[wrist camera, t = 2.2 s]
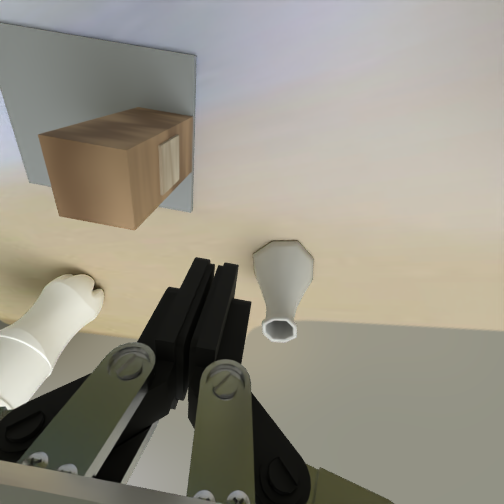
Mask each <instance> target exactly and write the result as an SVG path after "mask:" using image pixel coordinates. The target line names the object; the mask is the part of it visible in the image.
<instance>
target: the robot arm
mask: <svg viewBox="0 0 504 504" xmlns="http://www.w3.org/2000/svg"><path fill="white" fill-rule="evenodd" d="M238 266H239V265H236V264H231V263H224V266H221V265H218V268H217V271H216V273H215V276H214V270H215V264H210V260H208V259H203V258H197V257H196V258H195V259H194V261H193V263H192V265H191V267H190V269H189V271H188V273H187V275H186V277H185V279H184V281H183V283H182V285H181V287H180V289H179V288H173V287H168V288H167V290H166V291H165V293H164V295H163V297H162V298H161V300H160V302H159V304H158V306H157V307H156V309H155V311H154V313H153V315H152V316H151V318H150V320H149V322H148V324H147V325H146V327H145V329H144V331H143V332H142V334H141V336H140V338H139V340H138V341H137V342H133V343H126V344H123V345H120V346H118V347H116V348H115V349H113V350H112V351H111V352H110V353H109V354H108V355H106V357H105V358H104V359H103V360H102V361H101V363H100V364H99V365H98V366H97V368H96V369H95V370H94V371H93V372H92V373H90V374H88V375H86V376H84V377H82V378H79V379H77V380H75V381H73V382H71V383H68V384H66V385H64V386H62V387H60V388H57V389H55V390H53V391H51V392H49V393H46V394H44V395H42V396H40V397H38V398H35V399H34V400H31V401H29V402H27V403H24V404H22V405H21V406H19V407H17V408H15V409H12V410H7V408H6V406H4V407H0V504H394V503H393V502H391V501H390V500H389V499H386V498H384V497H382V496H380V495H378V494H376V493H374V492H372V491H370V490H368V489H365V488H363V487H361V486H359V485H357V484H355V483H353V482H350V481H349V480H346V479H344V478H342V477H340V476H338V475H336V474H334V473H332V472H329V471H327V470H325V469H323V468H321V467H320V468H319V469H316V468H314V467H312V466H310V465H308V464H306V463H305V462H304V460H303V459H302V457H301V456H300V455H299V453H298V452H297V451H296V450H295V448H294V447H293V446H292V444H291V443H290V442H289V440H288V439H287V438H286V436H284V434H283V433H282V431H281V430H280V429H279V427H278V426H277V425H276V423H275V422H274V421H273V420H272V418H271V417H270V416H269V414H268V413H267V412H266V411H265V409H264V408H263V407H262V405H261V404H260V403H259V401H258V400H257V399H256V397H255V396H254V395H253V394H252V392H251V381H250V376H249V373H248V372H247V370H246V368H244V367H243V366H242V365H241V362H242V355H243V350H244V344H245V338H246V332H247V326H248V320H249V314H250V308H251V302H250V301H245V300H239V299H234V295H235V288H236V281H237V274H238ZM187 390H188V402H189V406H188V418H189V420H190V422H191V424H192V426H193V427H194V429H195V431H194V439H193V446H192V454H191V463H190V472H189V479H188V488H187V496H181V495H176V494H171V493H166V492H161V491H156V490H151V489H146V488H141V487H136V486H130V485H126V484H127V482H128V480H129V478H130V476H131V474H132V473H133V470H134V469H135V467H136V465H137V463H138V461H139V459H140V457H141V455H142V454H143V452H144V450H145V448H146V446H147V444H148V442H149V440H150V438H151V437H152V434H153V433H154V431H155V429H156V427H157V424H158V422H159V419H161V418H163V417H164V416H166V415H167V414H169V411H170V409H175V408H176V406H177V403H178V400H184V399H185V396H186V393H187Z"/></svg>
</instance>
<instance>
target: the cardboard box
mask: <svg viewBox="0 0 504 504" xmlns="http://www.w3.org/2000/svg"><path fill="white" fill-rule="evenodd" d="M38 138H39V142H40V145H41V149H42V153H43V157H44V160H45V164H46V168H47V172H48V176H49V179H50V183H51V187H52V191H53V194H54V198H55V202H56V206H57V210H58V213H59V216H61V217H67V218H72V219H77V220H83V221H88V222H93V223H98V224H104V225H109V226H114V227H120V228H125V229H130V230H136V229H137V228H138V227H139V226H140V225H141V224H142V223H143V222H144V221H145V219H146V218H147V217H148V216H149V215H150V214H151V213H152V212H153V211H154V210H155V209H156V208H157V207H158V206H159V205H160V204H161V203H162V202H163V201H164V200H165V199H166V198H167V197H168V196H169V195H170V194H171V193H172V192H173V191H174V190H175V188H176V187H177V186H178V185H179V184H180V183H181V182H182V181H183V180H184V179H185V178H186V177H187V176H188V175H189V174H190V173H191V172H192V140H193V116H187V115H181V114H176V113H170V112H164V111H158V110H153V109H147V108H141V107H136V108H133V109H129V110H125V111H122V112H118V113H114V114H111V115H107V116H103V117H100V118H96V119H92V120H89V121H85V122H81V123H78V124H74V125H70V126H67V127H63V128H59V129H56V130H52V131H48V132H45V133H41V134H38Z"/></svg>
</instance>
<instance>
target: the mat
mask: <svg viewBox="0 0 504 504" xmlns="http://www.w3.org/2000/svg"><path fill="white" fill-rule="evenodd" d="M0 89H1V92H2V95H3V99H4V102H5V105H6V108H7V112H8V115H9V118H10V121H11V125H12V128H13V131H14V134H15V138H16V141H17V144H18V147H19V151H20V154H21V157H22V160H23V164H24V167H25V170H26V173H27V177H28V180H29V183H33V184H39V185H44V186H50V187H51V183H50V179H49V176H48V172H47V168H46V164H45V160H44V157H43V153H42V149H41V145H40V142H39V138H38V134H41V133H45V132H48V131H52V130H56V129H59V128H63V127H67V126H70V125H74V124H78V123H81V122H85V121H89V120H92V119H96V118H100V117H103V116H107V115H111V114H114V113H118V112H122V111H125V110H129V109H133V108H136V107H141V108H147V109H153V110H158V111H164V112H170V113H176V114H181V115H187V116H193V140H192V172H191V173H190V174H189V175H188V176H187V177H186V178H185V179H184V180H183V181H182V182H181V183H180V184H179V185H178V186H177V187H176V188H175V190H174V191H173V192H172V193H171V194H170V195H169V196H168V197H167V198H166V199H165V200H164V201H163V202H162V203H161V204H160V205H159V206H158V207H163V208H168V209H174V210H179V211H185V212H190V213H191V212H192V210H193V175H194V135H195V95H196V56H195V55H189V54H183V53H177V52H171V51H165V50H159V49H153V48H148V47H142V46H136V45H130V44H124V43H118V42H112V41H106V40H100V39H94V38H88V37H82V36H76V35H70V34H64V33H58V32H52V31H47V30H41V29H35V28H29V27H23V26H17V25H11V24H5V23H0Z"/></svg>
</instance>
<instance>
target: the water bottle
mask: <svg viewBox="0 0 504 504" xmlns="http://www.w3.org/2000/svg"><path fill="white" fill-rule="evenodd" d="M93 287H94V280H93V279H92V278H91V277H90V276H88V275H85V274H79V275H74V276H73V275H72V274H65V275H62V276H60V277H57V278H56V279H54V280H52V281H51V282H50V283H48V284H47V285H46V286H45V287H44V289H43V290H42V292H41V294H40V296H39V297H38V299H37V300H36V302H35V303H34V305H33V306H32V307H31V308H30V309H29V310H28V311H27V313H26V314H25V315H24V316H22V317H21V318H20V319H19V320H18V321H16V322H15V323H13V324H12V325H10V326H8V327H6V328H4V329H2V330H0V407H4V406H6V408H7V410H12V409H15V408H17V407H19V406H21V405H22V404H24V403H27V402H28V400H29V399H30V398H31V397H32V395H33V394H34V393H35V392H36V390H37V389H38V388H39V386H40V385H41V384H42V383H43V381H44V380H45V379H46V378H47V377H48V376H50V374H51V372H52V370H53V368H54V365H55V363H56V361H57V360H58V358H59V356H60V354H61V353H62V351H63V349H64V348H65V346H66V345H67V344H68V342H69V341H70V340H71V338H72V337H73V336H74V335H75V334H76V333H77V332H78V331H79V330H80V329H81V328H82V327H83V326H85V325H86V324H88V323H89V322H91V321H92V320H94V319H95V318H96V317H97V315H98V314H99V312H100V310H101V308H102V305H103V301H104V292H103V290H102V289H96V290H93Z"/></svg>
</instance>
